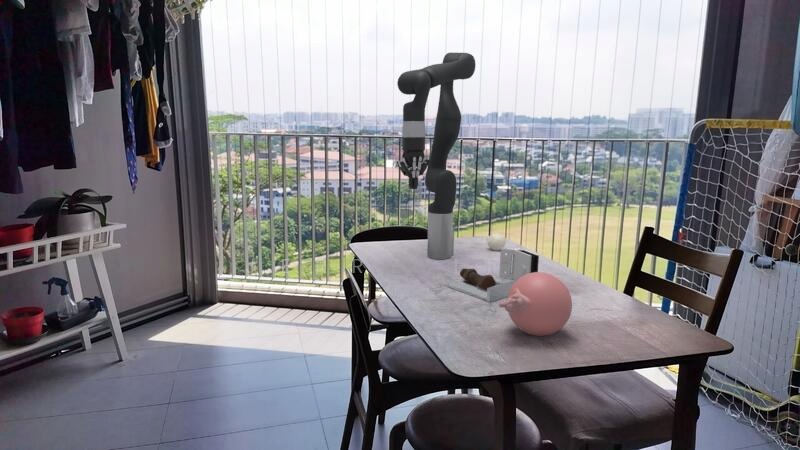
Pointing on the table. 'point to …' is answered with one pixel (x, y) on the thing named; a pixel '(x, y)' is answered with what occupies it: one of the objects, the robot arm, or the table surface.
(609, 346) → the table surface
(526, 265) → the hinge
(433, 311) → the table surface
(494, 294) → the tray
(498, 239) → the white ball
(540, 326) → the balloon
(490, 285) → the bolt
